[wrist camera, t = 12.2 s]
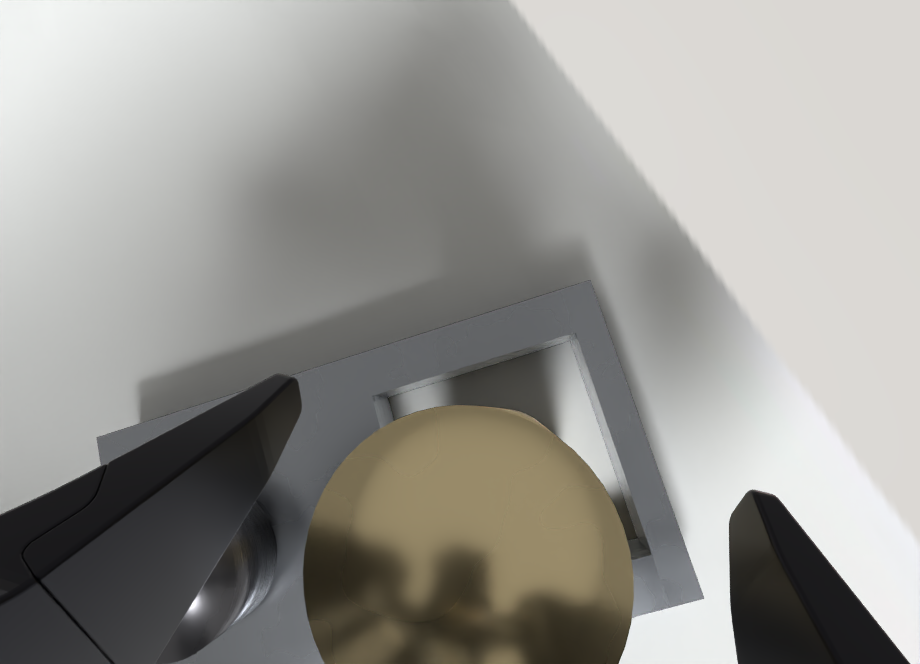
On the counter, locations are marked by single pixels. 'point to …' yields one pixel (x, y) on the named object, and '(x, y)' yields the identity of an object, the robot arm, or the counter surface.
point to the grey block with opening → (359, 416)
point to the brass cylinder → (467, 548)
